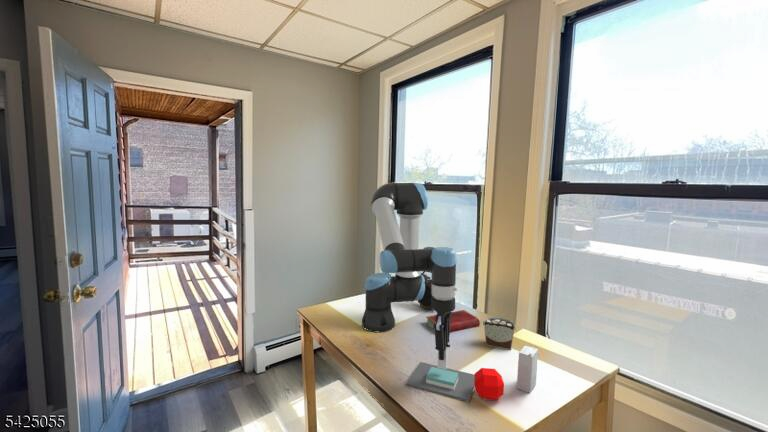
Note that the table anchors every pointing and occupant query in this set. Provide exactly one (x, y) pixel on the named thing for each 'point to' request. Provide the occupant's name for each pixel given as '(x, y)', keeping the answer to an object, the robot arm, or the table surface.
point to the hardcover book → (458, 321)
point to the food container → (499, 332)
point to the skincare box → (527, 368)
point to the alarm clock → (426, 292)
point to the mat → (460, 392)
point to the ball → (489, 384)
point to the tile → (442, 378)
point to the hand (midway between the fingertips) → (442, 367)
